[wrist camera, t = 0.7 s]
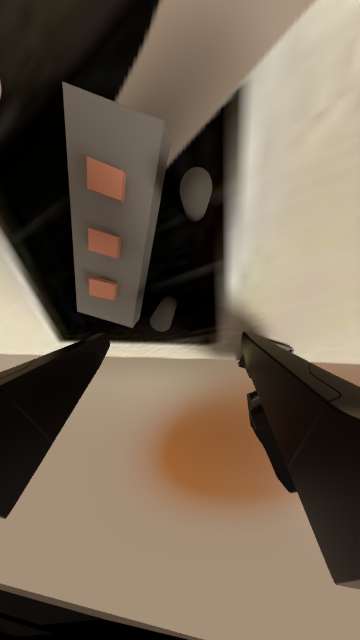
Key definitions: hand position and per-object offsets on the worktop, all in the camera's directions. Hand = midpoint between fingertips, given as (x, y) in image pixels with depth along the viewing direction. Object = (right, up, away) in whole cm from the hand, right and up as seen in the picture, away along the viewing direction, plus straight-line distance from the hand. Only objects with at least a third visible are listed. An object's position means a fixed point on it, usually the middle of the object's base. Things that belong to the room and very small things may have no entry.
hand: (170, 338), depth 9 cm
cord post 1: (-1, +4, +12) cm, 13 cm away
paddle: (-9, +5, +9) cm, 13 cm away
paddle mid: (-7, +10, +6) cm, 14 cm away
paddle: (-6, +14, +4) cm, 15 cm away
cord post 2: (+2, +14, +7) cm, 15 cm away
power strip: (-7, +11, +9) cm, 16 cm away
